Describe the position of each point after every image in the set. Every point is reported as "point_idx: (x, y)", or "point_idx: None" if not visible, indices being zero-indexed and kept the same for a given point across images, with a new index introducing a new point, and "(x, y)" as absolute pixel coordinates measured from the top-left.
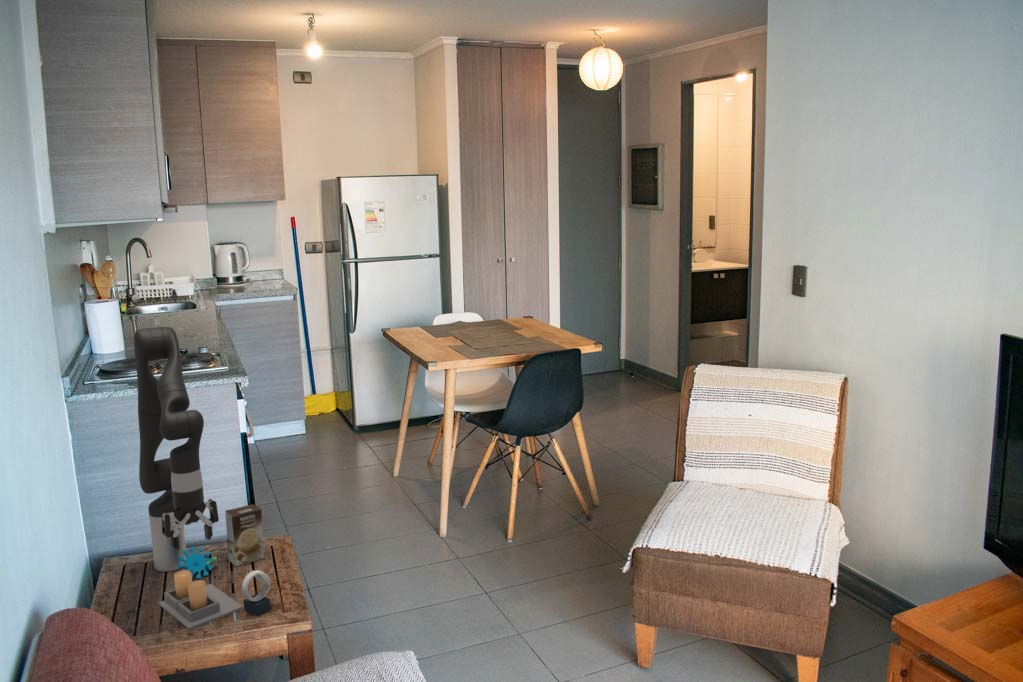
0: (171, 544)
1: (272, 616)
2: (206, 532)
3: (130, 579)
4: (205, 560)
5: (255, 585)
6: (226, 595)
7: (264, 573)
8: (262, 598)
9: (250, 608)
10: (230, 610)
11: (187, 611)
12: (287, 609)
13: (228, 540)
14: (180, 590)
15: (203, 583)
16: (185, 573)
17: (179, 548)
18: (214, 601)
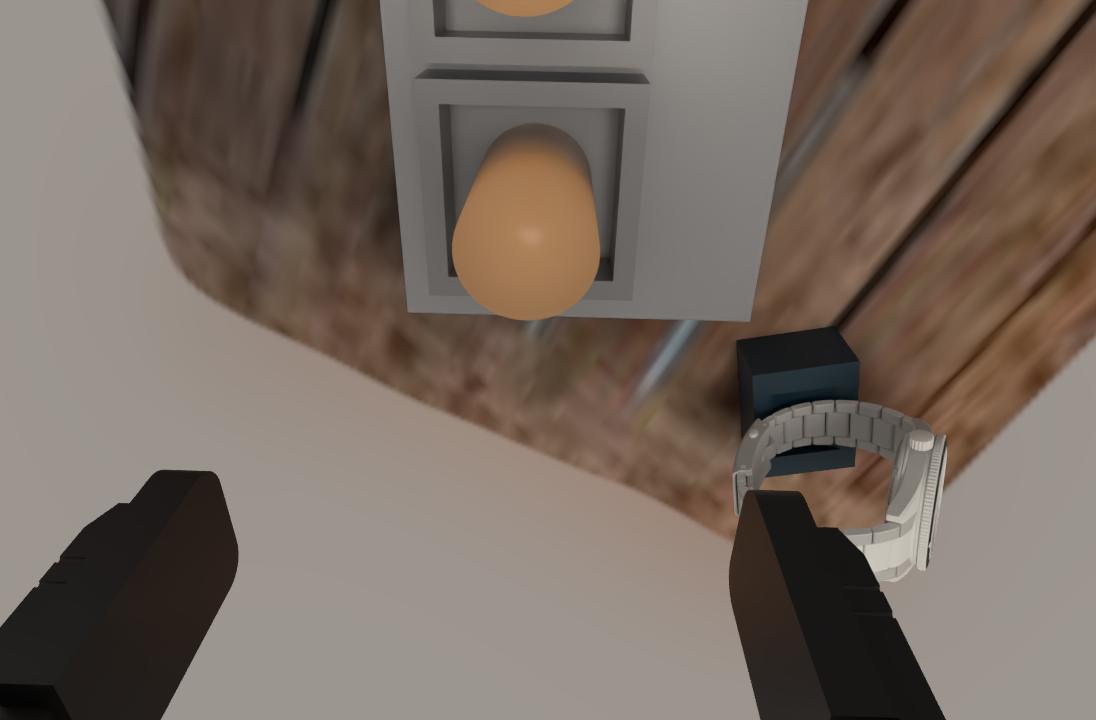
0: (73, 558)
1: (785, 485)
2: (766, 648)
3: None
4: None
5: (1028, 85)
6: (785, 102)
7: (922, 569)
8: (830, 441)
9: (746, 405)
10: (675, 309)
11: (427, 253)
12: (879, 481)
13: None
14: None
15: (570, 288)
16: None
17: (229, 585)
18: (620, 262)
